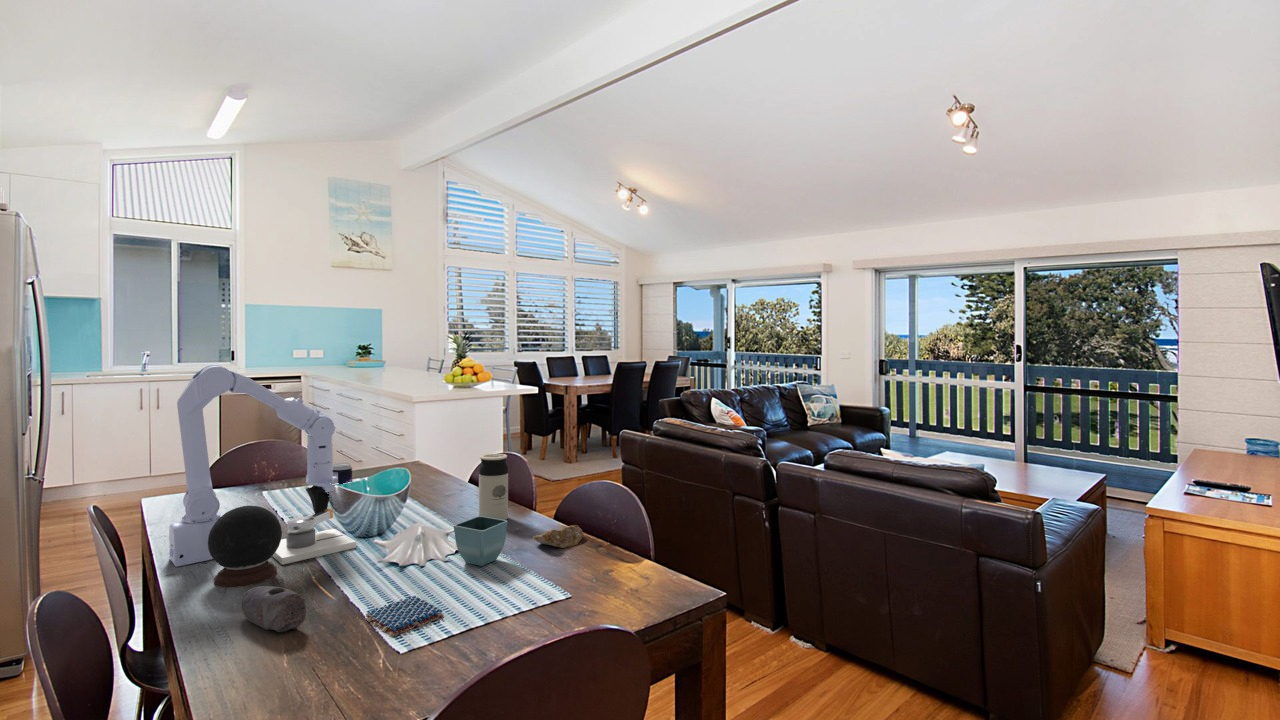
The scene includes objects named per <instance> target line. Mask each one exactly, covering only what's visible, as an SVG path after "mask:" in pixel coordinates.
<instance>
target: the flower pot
mask: <svg viewBox="0 0 1280 720" xmlns="http://www.w3.org/2000/svg"><path fill="white" fill-rule="evenodd" d="M507 528H508V520H507V519H506V520H502V519H495V518H489V517H484V516H479V515H478V516H475V517H473V518H469V519H467V520H464V521H461V522H459V523H456V524H454V525H453V531H454V538H455V543H456V544H455V545H456V548H457V551H458V553H459V555H460V556H461V559H463V561H464V562H465V563H466V564H471V565H475V566H479V567H483V566H485V565H488V564H490V563H491V562H494V561H496V560H497V559H498V558H499V556H500V554H501V553H502V551H503V549H504V546H505V543H506V536H507V530H508V529H507Z"/></svg>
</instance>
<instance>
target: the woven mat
mask: <svg viewBox="0 0 1280 720" xmlns="http://www.w3.org/2000/svg"><path fill="white" fill-rule="evenodd" d="M443 616H444V613H443V609H440V607H437V606H436V605H435V604H432V603H431V602H428V601H427V600H426V599H425V600H424V599H422V597H419V596H417V595H413V596H412V597H411V596H407V598H405V599H399V601H397V602H395V601H392V602H391V603H390V604H388V605H387V604H384V605H383V606H382V607H380V608H379V607H375V609H372V610H371V611H370V610H367V611H366V614H365V617H366V618H364V621H368V623H369V624H370V625H372V626H375V627H376V626H377V628H380V630H381V631H383V632H384V633H385V634H386V635H388V636H390V637H394V636H396V635H398V634H399V635H400V634H401V633H403V632H407V631H409V630H412V629H414V628H417V627H420V626H422V625H425V624H427V623H430V622H433V621H435V620H437V619H441V618H443Z"/></svg>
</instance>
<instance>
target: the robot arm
mask: <svg viewBox="0 0 1280 720" xmlns="http://www.w3.org/2000/svg"><path fill="white" fill-rule="evenodd" d="M228 391H229V392H230V393H232V394H246V395H248V396H250V397H252V398H253V399H255V400H258V401H259V402H260V403H263V404H265V405H267V406H269V407H271V408H272V409H275V411H276V415H277V418H279V419H281V420H282V421H285V423H287V424H289V425H291V426H293V427H294V428H297V429H298V430H300V431H304V432H305V433H306V434H307V445H306V447H307V448H306V455H307V457H306V459H307V460H306V461H307V462H306V463H307V464H306V467H307V469H306V471H307V473H306V475H305V483H306V485H310V486H311V487H307V488H305V492H306V493H307V494H308V496H309V499H310V501H311V505H312V509H313V512H314V514H316V513H319V512H321V511H324V510H325V509H328V506H329V502H330V500H329V497H328V496H329V494H327V492H328V493H329V492H333V491H335V488H334V486H335V485H332V484H335V483H333V481H335V480H338V478H337V477H335V476H334V477H333V465H334V464H333V454H334V453H333V435H334V434H335V431H336V426H335V423H334V422H333V421H334V420H332V419H331V418H329V417H328V416H327V415H324V414H323V413H321V410H319V409H318V408H316V409H314V408H311V406H309V405H307V404H305V403H304V400H303V399H301V398H300V397H298V398H297V399H296V398H295V397H288V398H283V397H281V396H280V395H278V394H276V393H275V392H274V391H272V390H270V389H269V388H266V386H263V385H262V384H260V383H259V382H256V381H255V380H253V379H252V378H250V377H247V376H246V375H243V374H240V373H237V372H235V371H233V370H229V369H228V368H226V367H223V366H221V365H219V364H218V365H217V364H210V365H207V366H205V367H202V368H201V369H200V370H199V371H197V372H196V373H195V374H194V375H192V377H191V379H190V380H189V382H188V384H187V386H185V389H183V391H182V393H181V394H180V396H179V397H178V399H177V401H176V405H177V406H176V407H177V413H178V414H177V415H178V422H179V431H180V439H181V446H182V447H181V448H182V456H183V463H184V471H185V485H186V486H185V487H186V492H185V494H184V496H183V500H182V501H183V503H182V504H183V506H184V510H185V514H184V515H183V516H182V517H181V520H180V521H178V522H174V523H171V524H170V525H169V533H168V534H169V539H168V540H169V550H168V551H169V554H168V555H169V557H168V558H169V560H170V561H171V562H172V563H173V565H174V566H175V567H177V568H178V567H181V566H187V565H191V564H195V563H201V562H202V563H203V562H205V561H211V560H214V559H213V558H212V556H211V555H210V552H209V549H208V536H209V533H210V530H211V528H212V527H213V525H214V524H215V522H216V521H217V520H218V519H219V518H220V517H221V513H220V512H219V510H220V505H221V504H220V500H219V498H218V497H217V493H216V492H215V490H214V489H213V483H212V477H211V470H210V461H209V453H208V445H207V435H206V429H205V428H206V426H205V419H204V408H205V407H207V405H208V404H209V403H210V402H212V401H213V400H214V399H215V398H217V397H220V396H221V395H223V394H225V393H226V392H228ZM326 483H327V484H326ZM330 483H331V484H330Z"/></svg>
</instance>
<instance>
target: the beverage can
mask: <svg viewBox="0 0 1280 720" xmlns="http://www.w3.org/2000/svg"><path fill="white" fill-rule="evenodd" d="M334 476H335V477H337V478H338V480H335V481H333V483H339V484H343V483H348V482H352V483H353V467H352V465H351V463H350V462H340V463H339V462H338V463H334V464H333V477H334Z"/></svg>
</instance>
